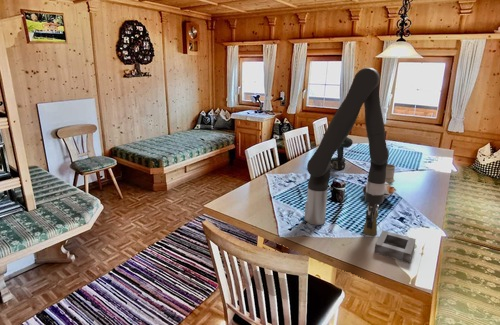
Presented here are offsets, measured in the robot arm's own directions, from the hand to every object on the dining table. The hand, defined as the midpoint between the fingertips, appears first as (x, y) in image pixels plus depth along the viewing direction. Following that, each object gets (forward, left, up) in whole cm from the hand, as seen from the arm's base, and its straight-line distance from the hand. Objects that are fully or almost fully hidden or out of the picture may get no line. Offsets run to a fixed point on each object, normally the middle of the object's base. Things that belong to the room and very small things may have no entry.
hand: (370, 226), depth 142 cm
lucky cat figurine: (-6, +41, -4) cm, 42 cm away
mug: (-10, +75, -4) cm, 76 cm away
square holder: (+12, -9, -3) cm, 15 cm away
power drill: (-46, +83, -3) cm, 95 cm away
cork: (0, 0, -3) cm, 3 cm away
